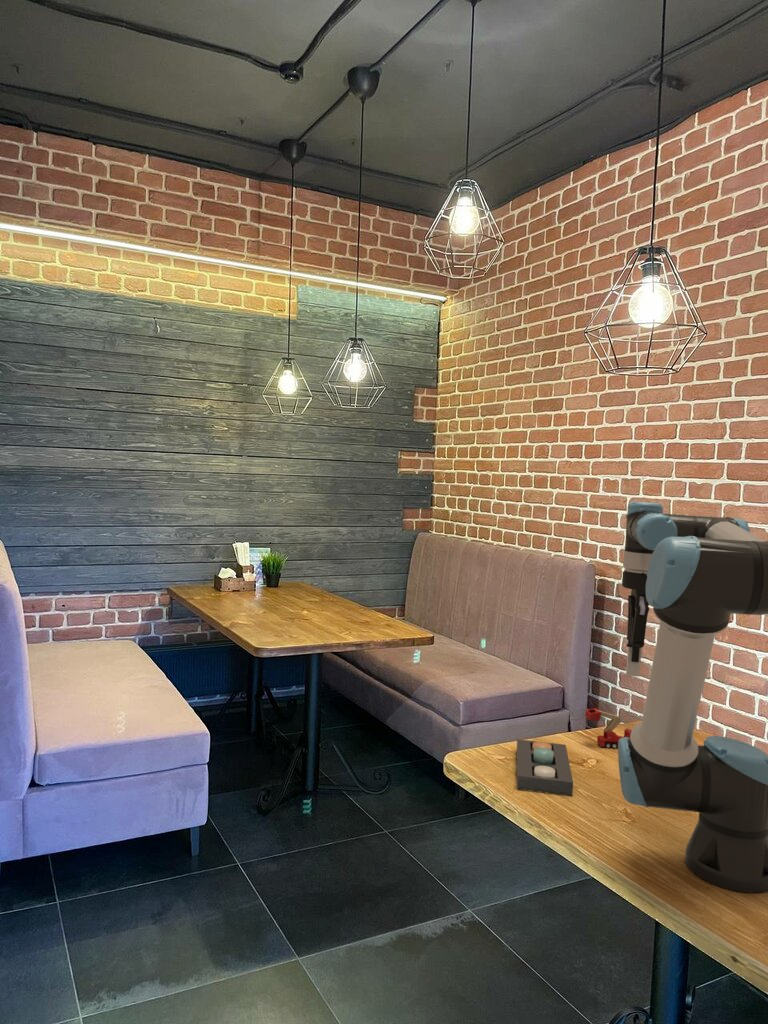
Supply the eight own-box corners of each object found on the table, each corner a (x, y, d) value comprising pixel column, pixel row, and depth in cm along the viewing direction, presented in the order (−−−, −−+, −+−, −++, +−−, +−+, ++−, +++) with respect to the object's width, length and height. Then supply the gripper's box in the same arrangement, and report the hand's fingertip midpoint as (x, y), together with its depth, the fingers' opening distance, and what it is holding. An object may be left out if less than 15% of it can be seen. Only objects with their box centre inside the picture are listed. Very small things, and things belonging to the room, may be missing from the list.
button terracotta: (551, 761, 185) (552, 749, 185) (532, 759, 185) (532, 747, 185) (550, 754, 189) (551, 742, 189) (531, 752, 190) (532, 740, 190)
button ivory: (554, 787, 169) (555, 774, 169) (533, 785, 170) (534, 772, 170) (553, 779, 173) (554, 766, 173) (533, 777, 174) (534, 764, 174)
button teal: (553, 768, 177) (554, 755, 177) (533, 765, 177) (534, 753, 177) (552, 761, 181) (553, 748, 181) (532, 758, 182) (533, 746, 182)
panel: (572, 795, 167) (573, 782, 167) (517, 789, 169) (518, 775, 168) (564, 756, 190) (565, 744, 190) (516, 750, 192) (517, 739, 192)
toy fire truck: (638, 749, 198) (641, 713, 198) (587, 748, 197) (589, 711, 197) (633, 745, 202) (635, 709, 201) (583, 743, 201) (585, 707, 200)
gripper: (663, 576, 162) (655, 684, 163) (652, 568, 175) (645, 669, 176) (627, 573, 163) (619, 681, 164) (619, 566, 176) (611, 666, 177)
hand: (632, 675), depth 170 cm, fingers closed
